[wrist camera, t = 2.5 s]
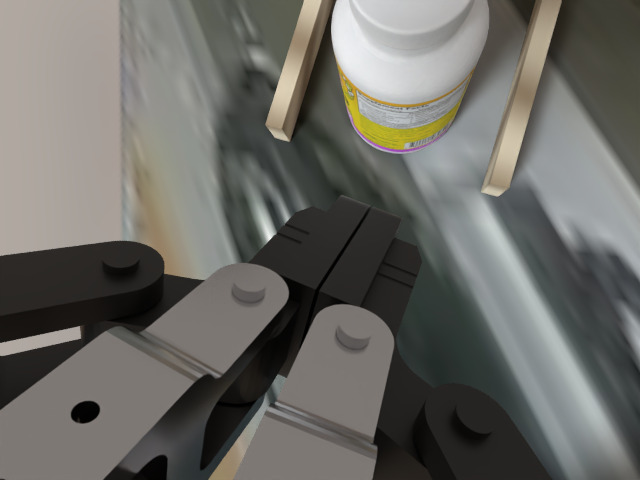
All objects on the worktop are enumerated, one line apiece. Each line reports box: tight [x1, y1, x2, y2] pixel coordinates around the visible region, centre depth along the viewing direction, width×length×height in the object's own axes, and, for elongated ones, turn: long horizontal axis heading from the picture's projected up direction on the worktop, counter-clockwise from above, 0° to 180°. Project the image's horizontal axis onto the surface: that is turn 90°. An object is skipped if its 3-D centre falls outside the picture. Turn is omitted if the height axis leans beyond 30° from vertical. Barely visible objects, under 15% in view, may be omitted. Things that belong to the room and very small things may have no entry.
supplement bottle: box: [331, 0, 489, 154], centre depth 23 cm, size 7×7×13 cm
